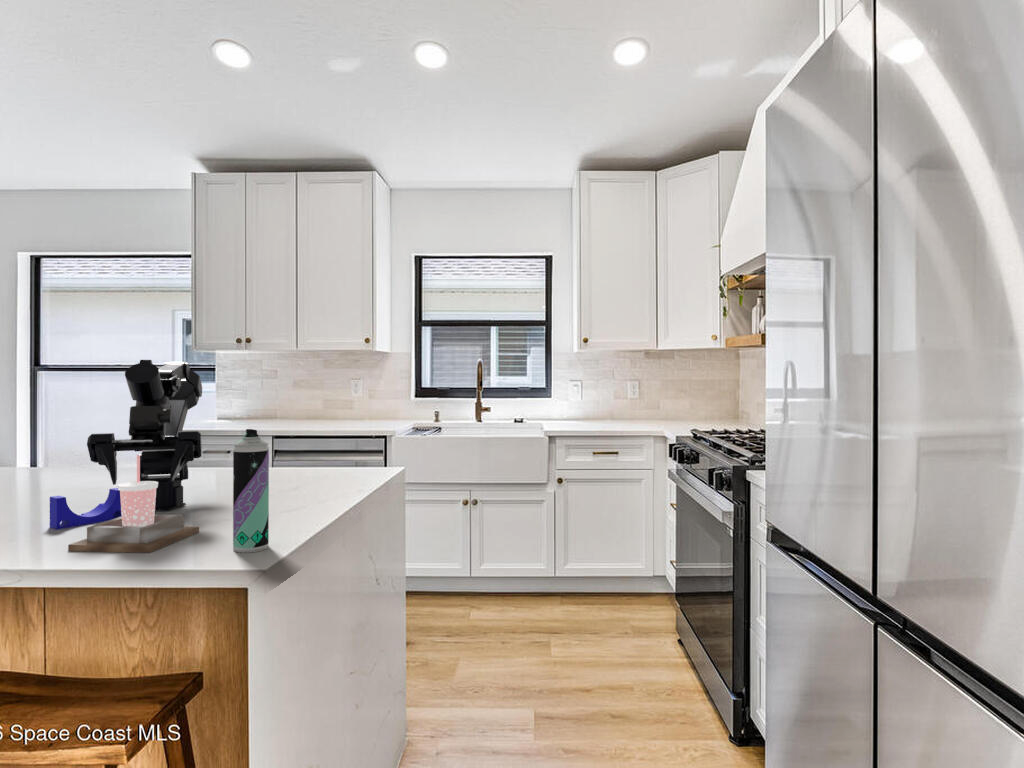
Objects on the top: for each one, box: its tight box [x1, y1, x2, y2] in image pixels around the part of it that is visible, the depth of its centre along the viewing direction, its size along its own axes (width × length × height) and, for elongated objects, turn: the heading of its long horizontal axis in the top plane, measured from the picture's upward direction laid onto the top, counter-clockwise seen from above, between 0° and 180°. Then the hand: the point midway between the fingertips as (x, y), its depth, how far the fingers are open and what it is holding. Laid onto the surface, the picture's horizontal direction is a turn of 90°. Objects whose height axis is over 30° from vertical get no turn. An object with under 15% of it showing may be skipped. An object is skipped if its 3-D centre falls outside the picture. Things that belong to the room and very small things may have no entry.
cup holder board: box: [67, 514, 200, 554], centre depth 108 cm, size 14×14×4 cm
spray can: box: [232, 428, 270, 554], centre depth 104 cm, size 6×6×20 cm
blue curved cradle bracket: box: [49, 487, 122, 530], centre depth 123 cm, size 12×4×6 cm, turn 148°
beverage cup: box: [117, 454, 158, 527], centre depth 108 cm, size 6×6×14 cm
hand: (143, 481), depth 114 cm, fingers open, 9 cm apart
